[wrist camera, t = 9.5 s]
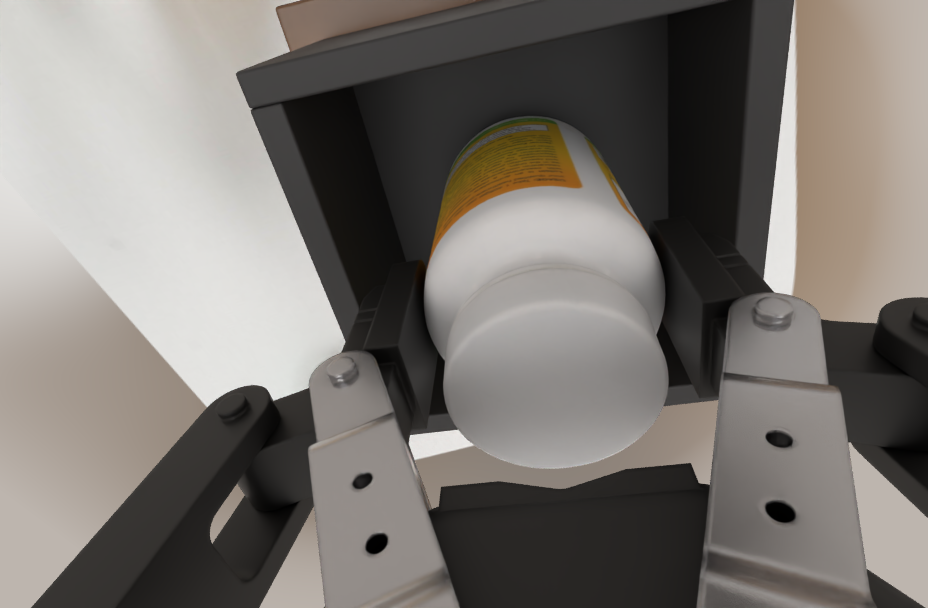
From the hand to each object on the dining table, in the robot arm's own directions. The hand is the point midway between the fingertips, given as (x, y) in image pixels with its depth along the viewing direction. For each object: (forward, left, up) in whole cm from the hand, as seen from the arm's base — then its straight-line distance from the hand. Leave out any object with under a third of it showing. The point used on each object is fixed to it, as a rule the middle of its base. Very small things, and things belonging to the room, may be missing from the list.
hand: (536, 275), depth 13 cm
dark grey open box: (0, 0, -8) cm, 8 cm away
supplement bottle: (0, 0, -6) cm, 6 cm away
